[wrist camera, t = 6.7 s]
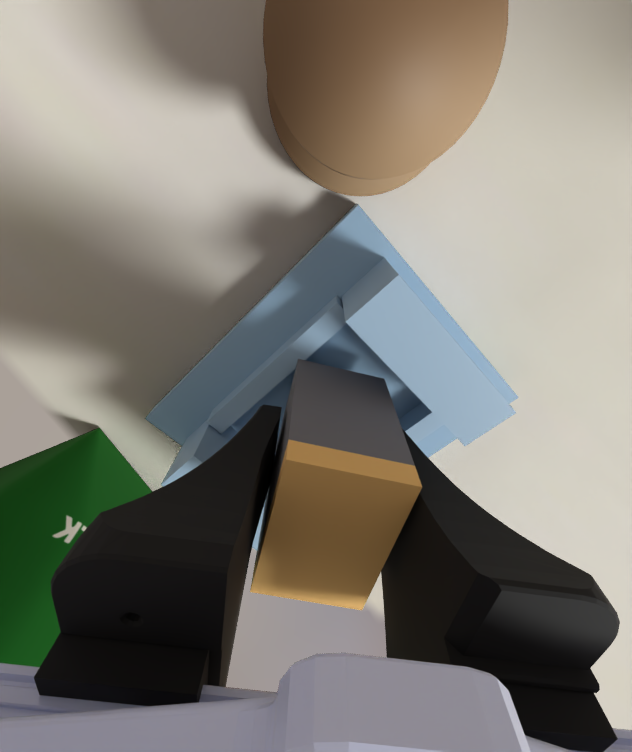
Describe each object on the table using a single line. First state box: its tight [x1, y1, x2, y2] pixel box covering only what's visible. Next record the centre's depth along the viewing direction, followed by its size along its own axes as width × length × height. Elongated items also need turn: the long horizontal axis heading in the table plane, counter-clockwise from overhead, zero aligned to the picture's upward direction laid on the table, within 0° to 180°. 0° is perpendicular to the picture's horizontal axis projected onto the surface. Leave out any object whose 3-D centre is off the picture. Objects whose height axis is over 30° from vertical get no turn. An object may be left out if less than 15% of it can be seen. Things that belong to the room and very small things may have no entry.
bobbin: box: [263, 0, 508, 196], centre depth 9 cm, size 5×5×4 cm
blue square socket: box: [145, 204, 518, 550], centre depth 14 cm, size 9×11×3 cm
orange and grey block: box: [250, 359, 422, 610], centre depth 11 cm, size 3×4×5 cm
